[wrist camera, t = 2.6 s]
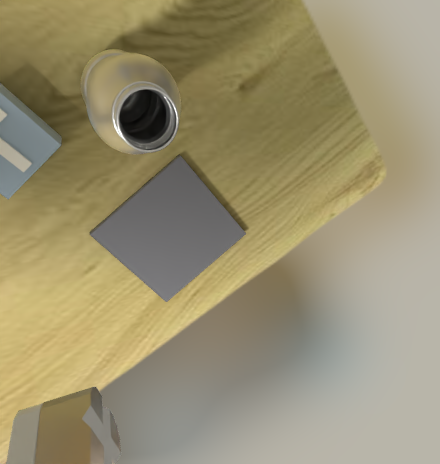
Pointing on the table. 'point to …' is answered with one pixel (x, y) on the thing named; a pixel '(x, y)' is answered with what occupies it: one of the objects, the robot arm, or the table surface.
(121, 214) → the charcoal mat
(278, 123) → the table surface
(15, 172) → the letter block
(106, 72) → the plastic bottle
